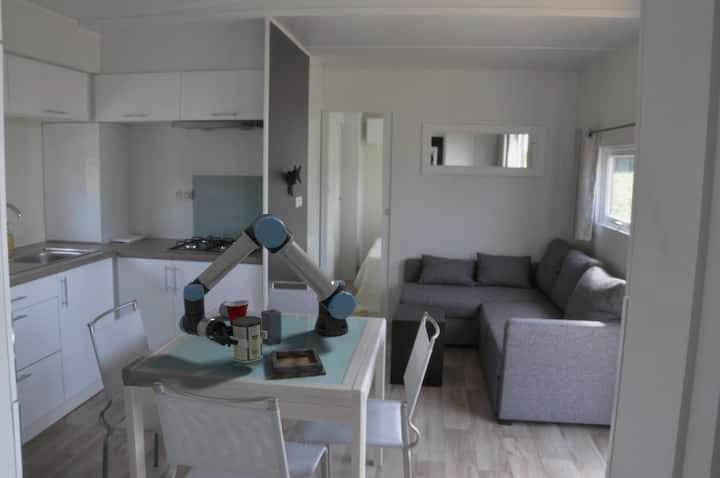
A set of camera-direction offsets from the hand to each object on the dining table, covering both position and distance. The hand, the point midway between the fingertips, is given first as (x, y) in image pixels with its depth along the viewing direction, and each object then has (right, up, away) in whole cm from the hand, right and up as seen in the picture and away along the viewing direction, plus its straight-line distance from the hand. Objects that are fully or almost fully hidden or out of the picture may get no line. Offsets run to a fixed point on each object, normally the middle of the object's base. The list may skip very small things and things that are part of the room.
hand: (256, 339), depth 187 cm
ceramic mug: (-25, -2, +68) cm, 73 cm away
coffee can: (-4, -7, +3) cm, 9 cm away
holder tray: (+13, -11, +6) cm, 18 cm away
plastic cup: (-19, -5, +51) cm, 55 cm away
